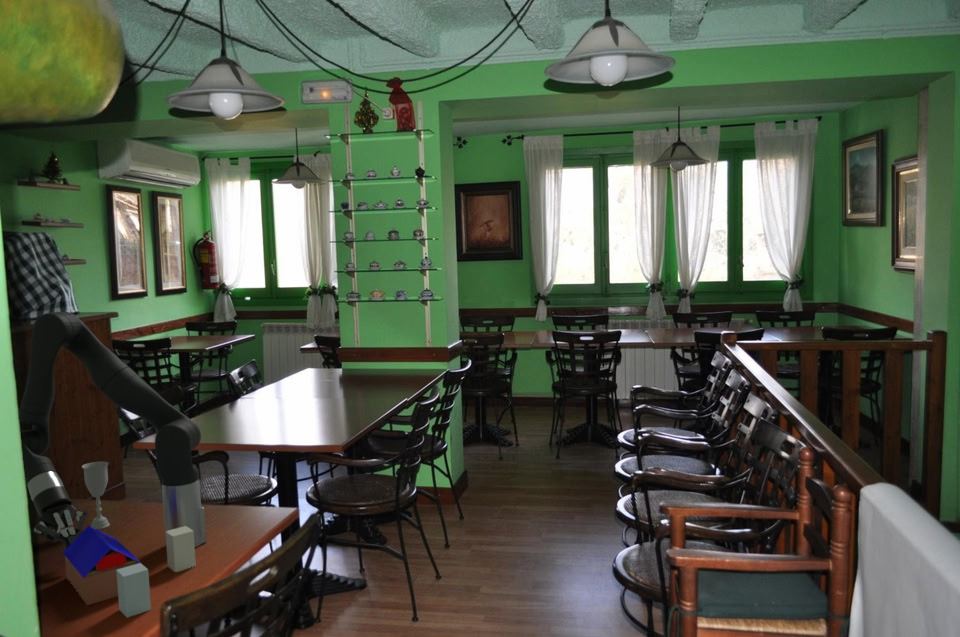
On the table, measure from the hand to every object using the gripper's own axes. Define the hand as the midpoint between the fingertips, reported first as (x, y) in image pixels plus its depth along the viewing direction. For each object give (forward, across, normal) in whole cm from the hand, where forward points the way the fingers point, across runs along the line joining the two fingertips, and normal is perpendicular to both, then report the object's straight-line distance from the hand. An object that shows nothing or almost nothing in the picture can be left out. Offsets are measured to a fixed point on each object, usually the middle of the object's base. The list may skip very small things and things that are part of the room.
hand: (74, 551), depth 185 cm
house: (+13, 0, -6) cm, 15 cm away
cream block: (+18, +16, -11) cm, 26 cm away
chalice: (-16, +18, +23) cm, 33 cm away
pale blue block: (+27, -2, -20) cm, 34 cm away
